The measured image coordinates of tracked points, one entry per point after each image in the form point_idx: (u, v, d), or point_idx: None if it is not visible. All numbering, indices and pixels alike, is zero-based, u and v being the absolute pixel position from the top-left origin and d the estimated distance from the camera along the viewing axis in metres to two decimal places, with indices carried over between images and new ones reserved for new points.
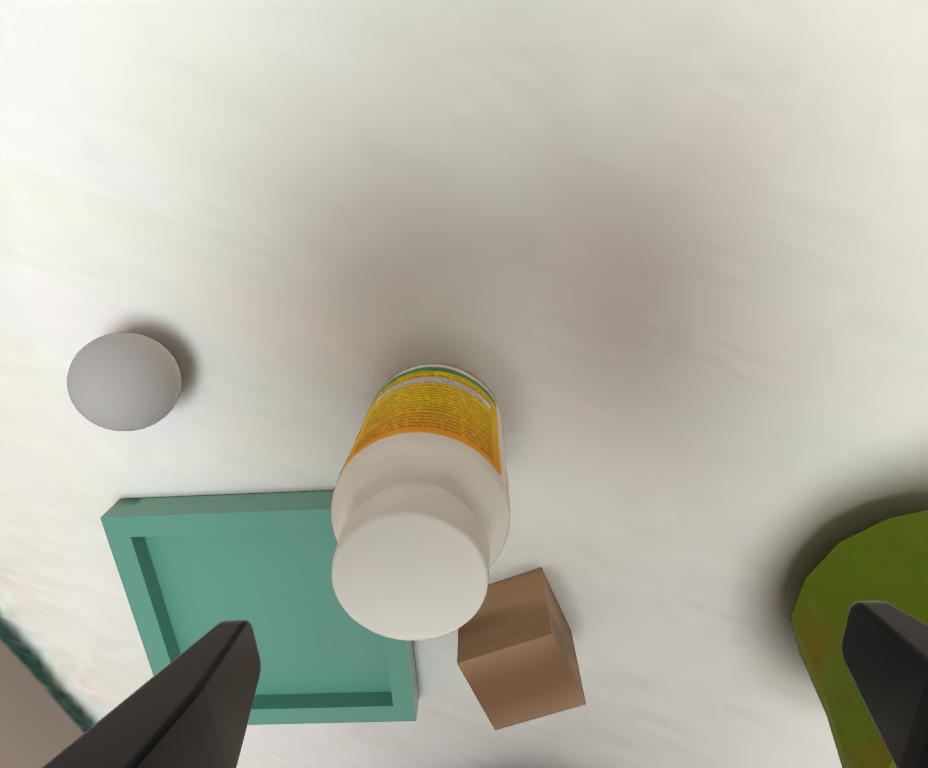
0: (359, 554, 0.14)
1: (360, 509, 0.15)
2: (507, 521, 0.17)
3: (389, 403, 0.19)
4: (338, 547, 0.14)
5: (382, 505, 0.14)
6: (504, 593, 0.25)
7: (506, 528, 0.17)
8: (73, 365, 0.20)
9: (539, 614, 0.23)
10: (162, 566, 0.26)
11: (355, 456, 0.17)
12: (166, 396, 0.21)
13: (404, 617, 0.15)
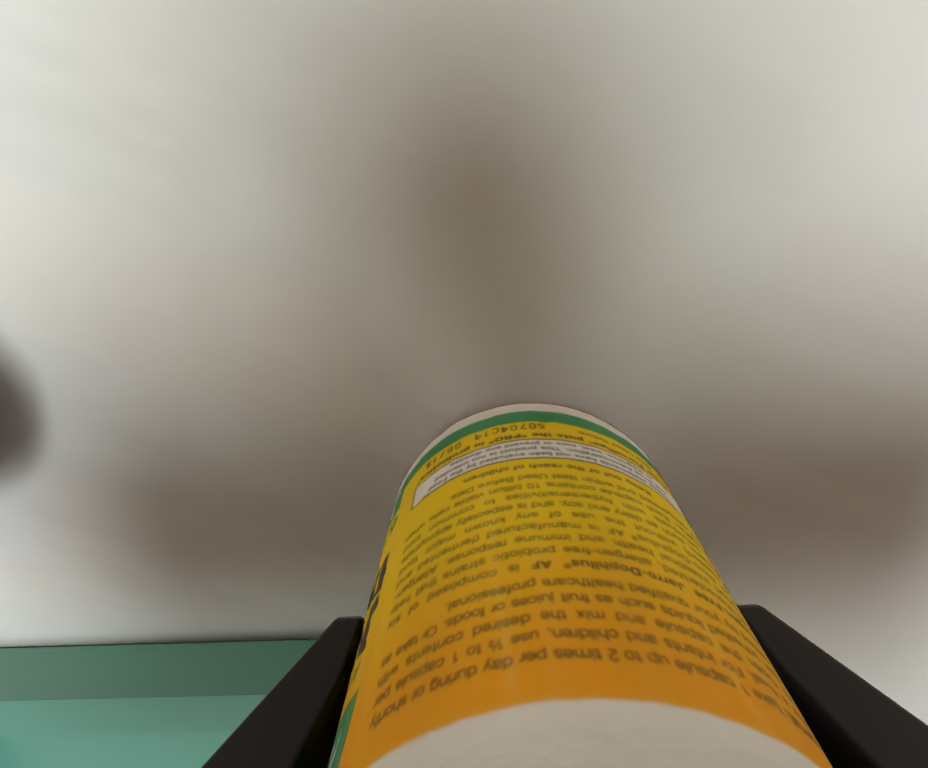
0: None
1: None
2: None
3: (457, 520, 0.07)
4: None
5: None
6: None
7: None
8: None
9: None
10: None
11: None
12: None
13: None
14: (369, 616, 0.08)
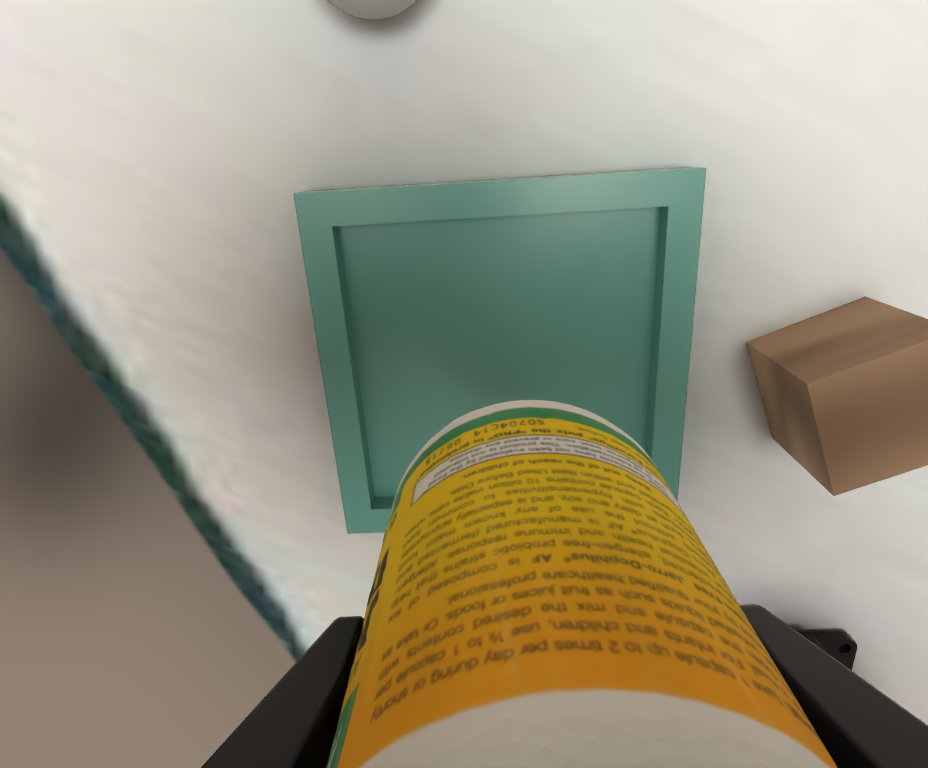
0: None
1: None
2: None
3: (457, 516, 0.07)
4: None
5: None
6: (824, 325, 0.19)
7: None
8: None
9: (911, 323, 0.17)
10: (359, 291, 0.19)
11: (378, 765, 0.05)
12: None
13: None
14: (369, 611, 0.08)
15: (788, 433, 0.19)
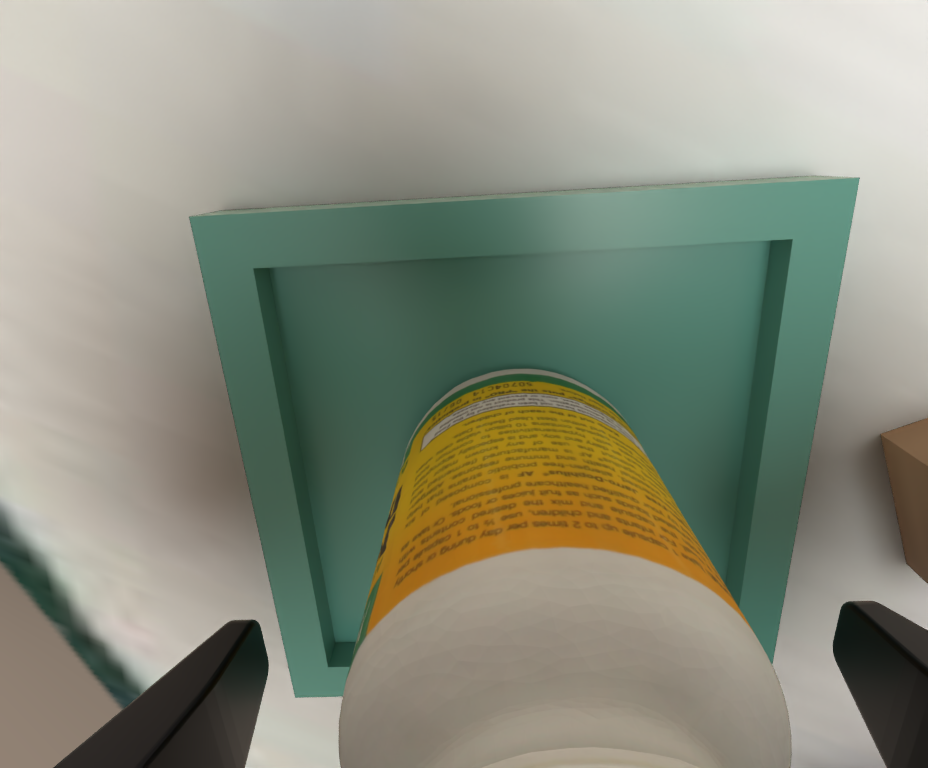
0: None
1: None
2: None
3: (459, 451, 0.09)
4: None
5: None
6: None
7: None
8: None
9: None
10: (303, 361, 0.12)
11: (402, 607, 0.06)
12: None
13: None
14: (387, 531, 0.09)
15: None
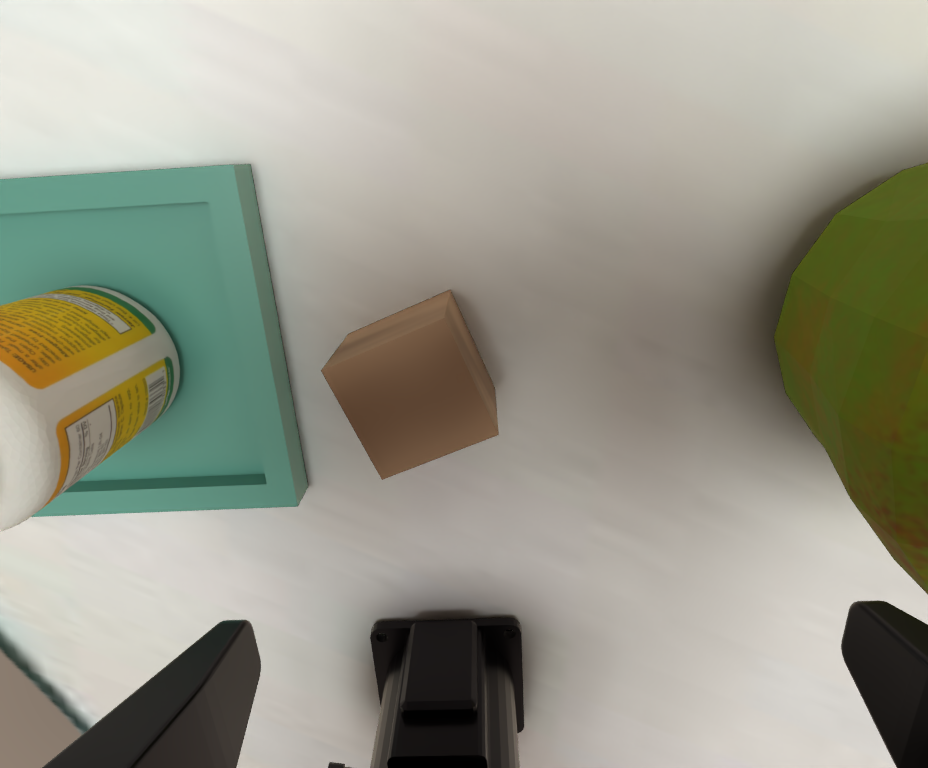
0: None
1: None
2: (37, 443, 0.14)
3: None
4: None
5: None
6: (399, 316, 0.19)
7: (37, 452, 0.14)
8: None
9: (434, 313, 0.18)
10: None
11: None
12: None
13: None
14: None
15: None
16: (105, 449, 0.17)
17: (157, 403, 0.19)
